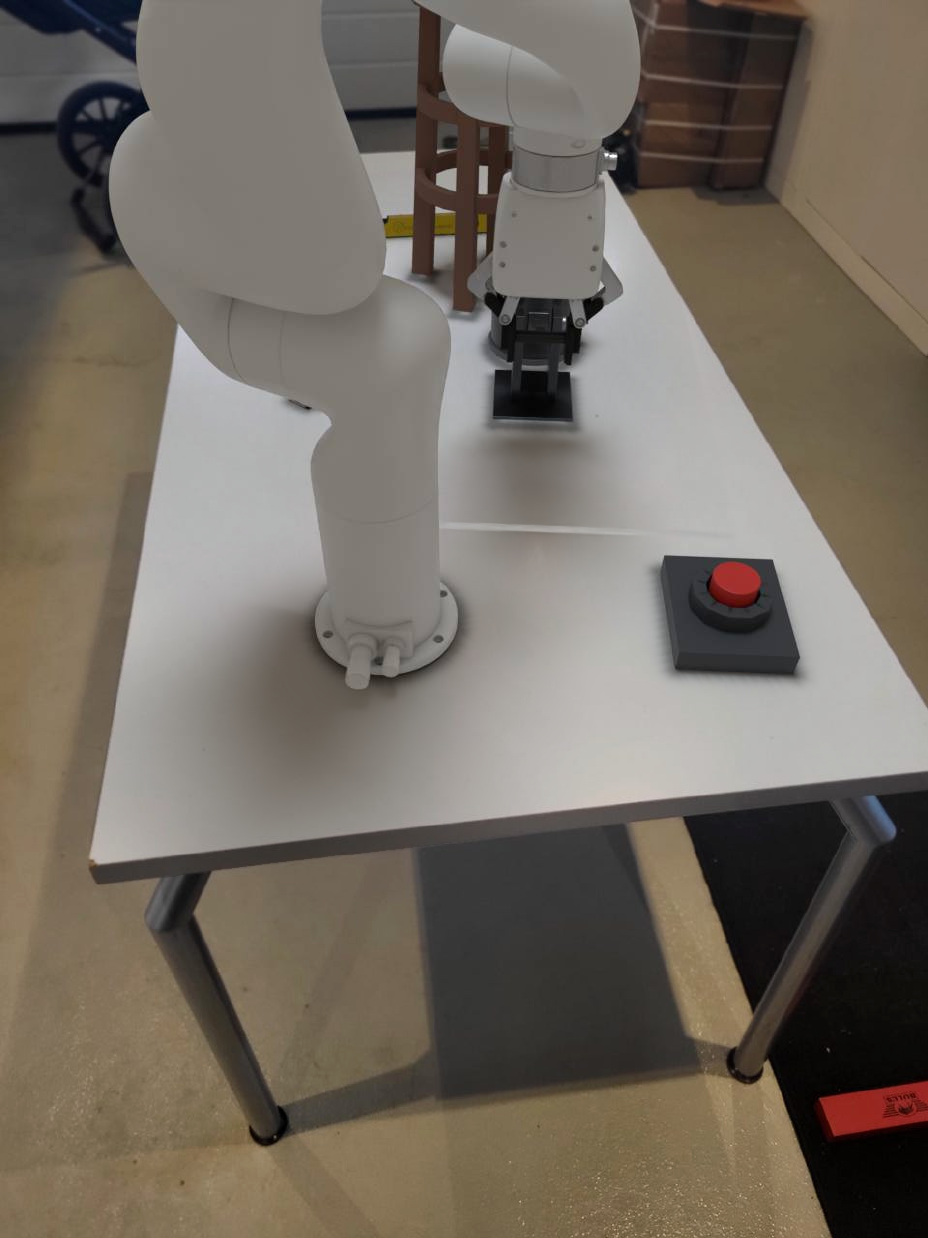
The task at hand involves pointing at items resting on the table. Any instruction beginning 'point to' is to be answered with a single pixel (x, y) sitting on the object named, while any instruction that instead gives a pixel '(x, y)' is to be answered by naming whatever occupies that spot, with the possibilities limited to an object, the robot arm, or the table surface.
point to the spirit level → (443, 224)
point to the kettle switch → (539, 329)
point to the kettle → (531, 351)
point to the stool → (463, 158)
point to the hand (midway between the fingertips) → (539, 355)
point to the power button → (734, 584)
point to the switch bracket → (534, 381)
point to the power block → (726, 620)
